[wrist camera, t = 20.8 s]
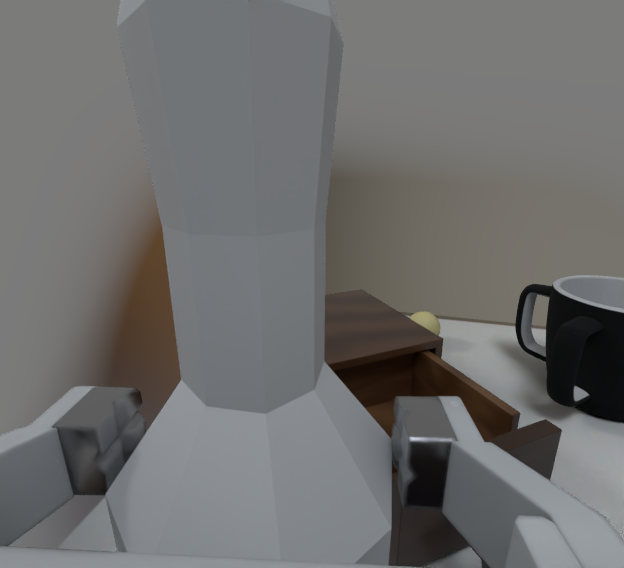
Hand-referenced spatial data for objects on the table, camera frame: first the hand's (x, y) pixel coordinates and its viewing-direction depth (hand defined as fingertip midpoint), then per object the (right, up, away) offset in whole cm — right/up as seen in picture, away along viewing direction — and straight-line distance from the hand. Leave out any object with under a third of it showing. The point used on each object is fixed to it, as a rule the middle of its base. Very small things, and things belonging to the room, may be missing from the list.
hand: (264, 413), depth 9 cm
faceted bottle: (0, -12, +3) cm, 12 cm away
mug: (+32, -9, +31) cm, 46 cm away
